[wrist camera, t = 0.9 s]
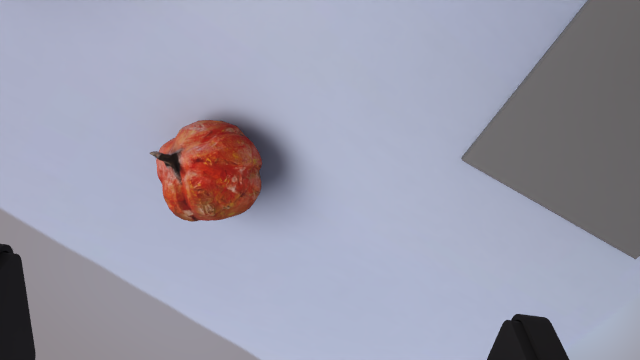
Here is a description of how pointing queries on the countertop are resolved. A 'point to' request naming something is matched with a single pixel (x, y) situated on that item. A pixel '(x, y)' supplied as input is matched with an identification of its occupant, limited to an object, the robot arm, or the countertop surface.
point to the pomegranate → (209, 171)
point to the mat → (577, 127)
